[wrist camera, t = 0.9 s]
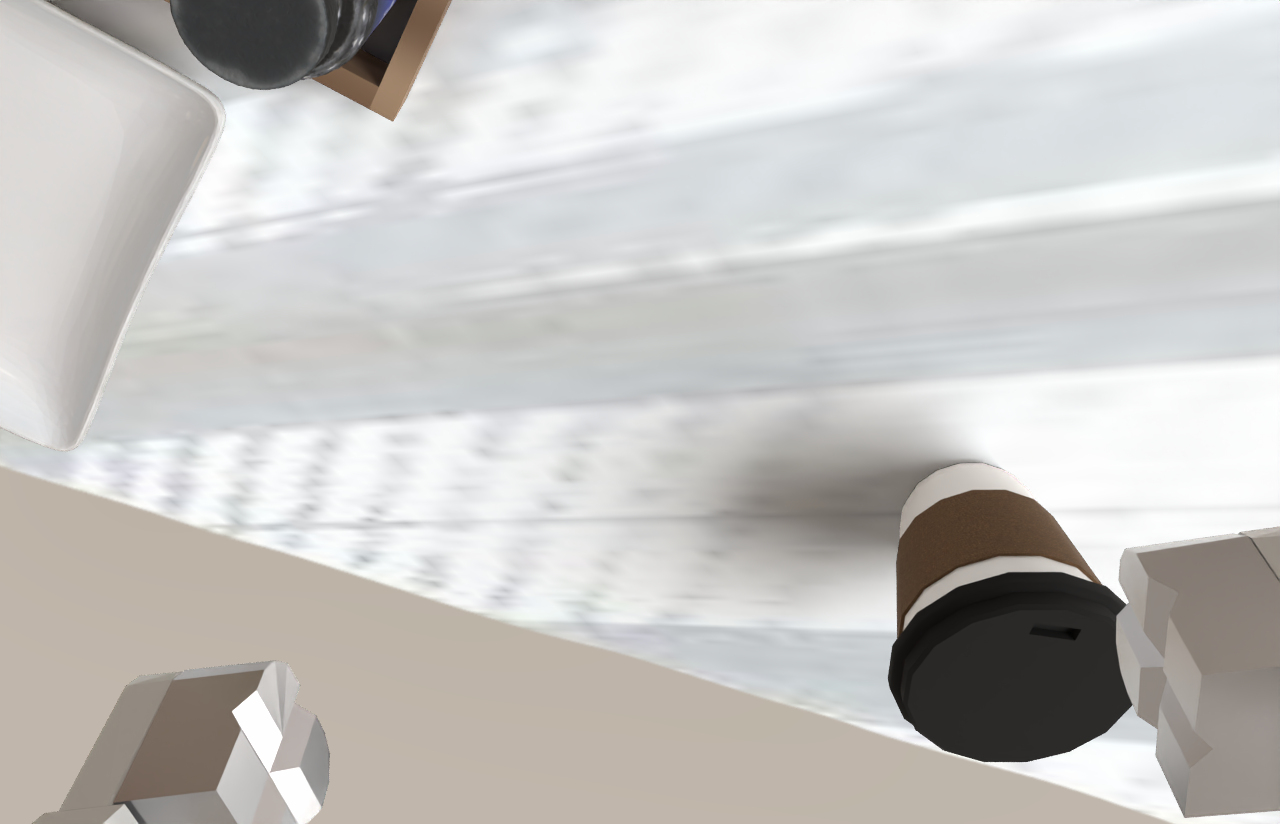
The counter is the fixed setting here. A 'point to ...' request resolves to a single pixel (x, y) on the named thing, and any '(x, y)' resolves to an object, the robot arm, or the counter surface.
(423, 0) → the walnut collar
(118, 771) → the robot arm
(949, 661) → the coffee cup
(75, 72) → the salad plate
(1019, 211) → the counter surface
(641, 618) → the counter surface
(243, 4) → the pill bottle
